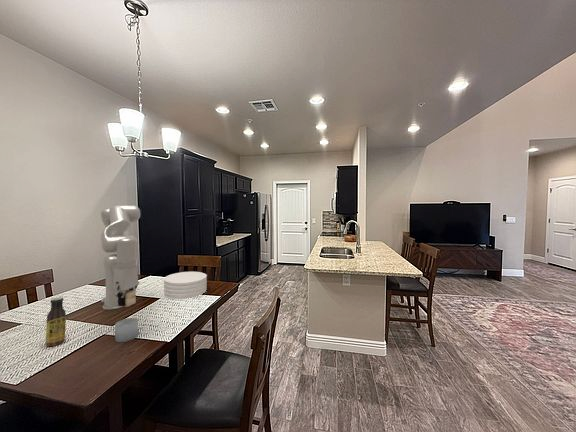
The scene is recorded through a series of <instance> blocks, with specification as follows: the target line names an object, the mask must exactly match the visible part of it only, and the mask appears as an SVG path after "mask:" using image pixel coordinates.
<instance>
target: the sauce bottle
mask: <svg viewBox="0 0 576 432" xmlns="http://www.w3.org/2000/svg"><path fill="white" fill-rule="evenodd" d="M63 301H64V297H63V296H61V297H53V298H51V299H50V310H49V311H48V313H47V315H46V326H45V327H46V328H45V329H46V330H45V345H46V346H47V347H53V346H54V347H55V346H59V345H60V344H62V343H63V344H64V342H65V339H66V322H67V318H66V309H64V307H63V304H64V303H63Z"/></svg>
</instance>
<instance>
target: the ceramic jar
mask: <svg viewBox="0 0 576 432" xmlns="http://www.w3.org/2000/svg"><path fill="white" fill-rule="evenodd" d="M138 335H139V319H138V318H136V317H129V318H122V319H121V320H119V321H117V322H115V324H114V341H115V342H116V343H117V342H118V343H124V342H129V341H132V340H134V339H135V338H137V337H138Z"/></svg>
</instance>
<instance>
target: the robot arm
mask: <svg viewBox="0 0 576 432" xmlns="http://www.w3.org/2000/svg"><path fill="white" fill-rule="evenodd" d="M100 218H101V221H102V223H103V225H104V227H105V228H104V229H103V230H102V231H101V232H102V233H101V236H100V237H101V248H102V250H103V252H105V253H109V254H108V255H106V256H105V257H104V258H103V267H104V273H105V297H102V299H101V300H100V302H101V303H104V304H102V309H104V310H108V311H109V310H110V311H111V310H116V309H120V308H123V306H125V297H124V295H125V290H136V291H137V288H138V286H139V285H140V281H139V275H138V274H139V273H138V267H137V266H138V264H139V242H138V238H137V236H135V235H132V234H131V235H125V234H124V232H126V231H128V230H129V229H130V228H131V223H134V222H137V221H139V219H140V218H141V209H140V208H139V207H138V206H137V205H135V204H134V205H133V204H129V205H127V204H116V205H113V206H111V207H107V208H104V209H102V210H101V212H100ZM110 253H111V254H110ZM112 253H113V254H112ZM121 292H122V294H121ZM117 297H118V301H117Z"/></svg>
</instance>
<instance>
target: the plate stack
mask: <svg viewBox="0 0 576 432" xmlns="http://www.w3.org/2000/svg"><path fill="white" fill-rule="evenodd" d="M207 278H208V274H206V273H204V272H201V271H181V272H175V273H171V274H169V275H166V276H165V277H164V278H163V297H164V298H165V299H167V298H168V299H167V300H171V299H187V298H192V297H196V296H199V295H202V294H203V293H205V292H206V293H207V291H206V290H208V289H207V287H208V286H207V285H208V284H207V281H208V280H207ZM206 293H205V294H206ZM202 296H203V295H202ZM199 297H200V296H199ZM196 298H197V297H196ZM192 299H193V298H192ZM187 300H188V299H187Z"/></svg>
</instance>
